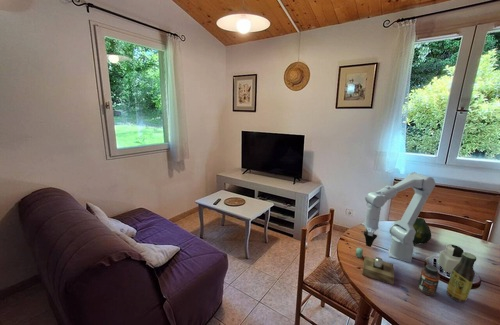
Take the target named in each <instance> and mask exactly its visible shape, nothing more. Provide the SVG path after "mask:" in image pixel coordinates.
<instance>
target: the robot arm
mask: <svg viewBox="0 0 500 325" xmlns="http://www.w3.org/2000/svg"><path fill="white" fill-rule="evenodd" d="M436 184H437V183H436V181H435V179H434V177H431V176H427V175H423V174H421V173H417V172H415V171H414V172H410V173H409V174H407V175H406V177H405V178H404V179H402V180H400V181H399V182H397V183H395V184H394V185H385V186H384V187H382V188H381V189H379V190H376V191H375V192H374V191H371V192H369V193H367V194H366V196H365V197H364V200H365V202H366V211H365V219H364V222H362V223H361V226H363V227H364V228H365V230H364V231H363V235H364V239H365V245H366V247H370V248H371V247H372V246H373V243H374V241H375V240H376V239H377V237H378V234H375V232H377V230H379V222H380V215H381V210H382V207H384V205H385V204H386V203H387V201H389V200H391V199H393V198H395V197H397V195H398V193H400V192H402V191H404V190H405V191H406V190H407V189H409V188H411V189H413V191H414V194H413V196H412V198H411V200H410V202H409V204H408V205H407V207H406V209H405V211H404V213H403V215H402V216H401V218H400V220H395V221H394V223H393V224H392V225H391V226H390V227H389V230H388V231H389V232H388V233H389V234H390V236H391V243H390V247H389V248H388V257H390V258H392V259H397V260H400V261H403V262H407V263H412V258H413V254H414V246H415V244H414V243H413V240H414V236H415V233H416V231H415V229H414V227H413V224H414V222H415V221H416V219H417V218H419V215H420V213H421V211H422V210H423V208H424V206H425V204H426V203H427V200H428V199H429V196H430V195H431V194H432V192H433V190H434V188H435V187H436ZM402 227H403V228H402ZM404 228H405V229H404Z"/></svg>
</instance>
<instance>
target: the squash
mask: <svg viewBox="0 0 500 325" xmlns="http://www.w3.org/2000/svg"><path fill="white" fill-rule="evenodd" d="M413 227H414V229H415V231H416V233H415V236H414V240H413V242H412V243H413V245H425V244H427V243H429V241H430V240H431V239H432V232H431V227H430V226H429V225H428V223H427V221H426V220H425V219H424V218H423V217H417V219H416V221H415V222H414V224H413ZM402 228H403V227H402ZM404 229H405V228H404Z"/></svg>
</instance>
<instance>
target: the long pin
mask: <svg viewBox="0 0 500 325" xmlns="http://www.w3.org/2000/svg"><path fill="white" fill-rule="evenodd" d="M374 259H375V263H374V268H377V269H381V268H382V262H383V261H384V260H383V258H381V257H379V256H378V257H375V258H374Z"/></svg>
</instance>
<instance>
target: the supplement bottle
mask: <svg viewBox="0 0 500 325" xmlns="http://www.w3.org/2000/svg"><path fill="white" fill-rule="evenodd" d="M439 282H440V274H439V269H438V268H437V267H436V266H435V265H433V264H426V265H425V267H424V268H422V269H421V271H420V276H419V280H418V285H417V288H418V290H419V291H420V292H421V293H422V294H425V295H427V296H430V297H432V296H433V297H434V296H435V295H436V294H437V290H438V286H439Z"/></svg>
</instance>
